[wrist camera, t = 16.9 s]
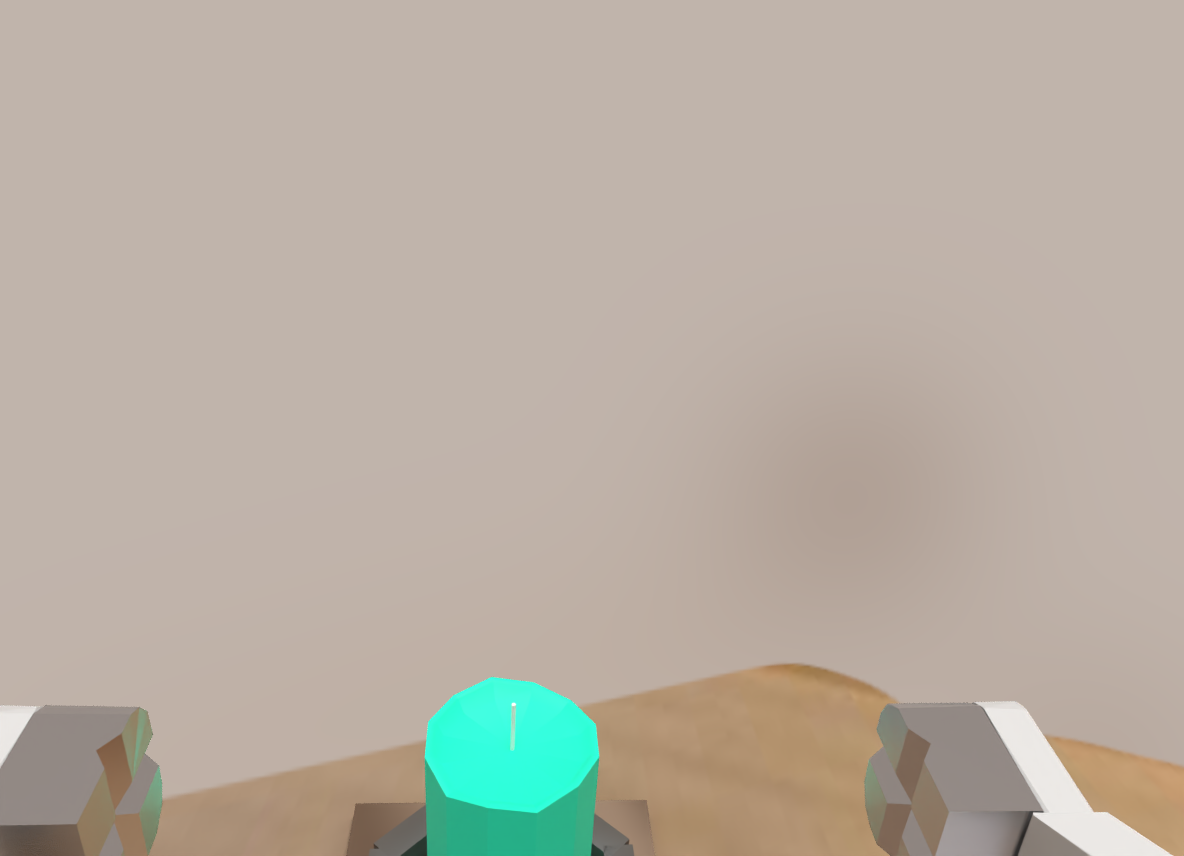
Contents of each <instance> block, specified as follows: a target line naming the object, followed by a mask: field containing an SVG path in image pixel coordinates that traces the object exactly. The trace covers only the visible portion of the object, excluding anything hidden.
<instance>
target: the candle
mask: <svg viewBox="0 0 1184 856" xmlns="http://www.w3.org/2000/svg"><path fill="white" fill-rule="evenodd" d="M598 765H599V751H598V742H597V732H596V724H595V723H594V722H593V721H592V720H591V719H590V718H589V717H588V716H587V715H586V714H585V713H584V712H583V711H582V710H581V709H580V708H579V707H577V706H576V705H575V704H574V703H573V702H572V701H571V700H569V699H567V698H565V697H563V696H561V695H559V694H557V693H555V692H553V691H551V690H548V689H546V688H544V687H542V686H540V685H538V684H536V683H533V682H526V681H518V680H510V679H502V678H494V677H491V678H489V679H487V680H485V681H482V682H480V683H479V684H476V685H474V686H472V687H470V688H468V689H466V690H464V691H462V692H460V693H458V694H456V695H453V697H452V698H450V700H449V701H448V702H447V703H446V704H445V705H444V706H443V707H442V708H441V709H440V710H439V711H438V712H437V713H436V714H435V715H434V716H433V717H432V718H431V719H430V720H429V722H428V730H427V740H426V751H425V785H426V825H427V856H591V848H592V836H593V824H594V812H595V800H596V788H597V777H598Z"/></svg>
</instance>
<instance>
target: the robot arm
mask: <svg viewBox="0 0 1184 856" xmlns="http://www.w3.org/2000/svg"><path fill="white" fill-rule="evenodd" d="M877 732H878V734H879V737H880V739H881V741H882V743H883V747H882V748H881V749H880V750H879V751H878V752H877V753H875V754H874V755H873V756H872V757H871V758H870V759H869V763H868V767H867V772H866V777H865V806H866V811H867V815H868V820H869V824H870V827H871V830H872V833H873V835H874V838H875V841H876V843H877V845H878V846H880V847H881V848H882V849H883V850H884V851H886V852H887V853H888V854H889V855H890V856H1172V855H1171V854H1169V853H1168V852H1166V851H1165V850H1163V849H1162V848H1160V847H1159V846H1157V845H1156V844H1154V843H1153V842H1151V841H1150V840H1148V839H1147V838H1145V837H1144V836H1142V835H1141V834H1139V833H1138V832H1136V831H1135V830H1133V829H1132V828H1130V827H1129V826H1127V825H1126V824H1124V823H1123V822H1121V821H1120V820H1118V819H1116V818H1115V817H1113V816H1112V815H1110V814H1109V813H1107V812H1094V811H1093V810H1092V808H1091V807H1090V805H1089V804H1088V802H1087V801H1086V799H1085V798H1084V796H1083V795H1082V793H1081V792H1080V790H1079V789H1078V787H1077V786H1076V784H1075V783H1074V781H1073V779H1072V778H1071V776H1070V775H1069V773H1068V772H1067V770H1066V769H1065V767H1064V766H1063V764H1062V763H1061V761H1060V760H1059V758H1058V757H1057V755H1056V754H1055V752H1054V751H1053V749H1052V748H1051V746H1050V745H1049V743H1048V742H1047V740H1046V739H1045V737H1044V735H1043V734H1042V733H1041V731H1040V729H1039V728H1038V727H1037V725H1036V723H1035V722H1034V720H1033V719H1032V717H1031V716H1030V714H1029V713H1028V711H1027V710H1026V708H1025V707H1023V706H1022V705H1020V704H1019V703H1018V702H1016V701H1011V702H1010V701H1008V702H1007V701H1005V702H973V703H909V704H908V703H903V704H887V705H886V707H885V708H884V710H883V711H882V712H881V715H880V719H879V723H878V726H877ZM152 735H153V733H152V729H151V725H150V720H149V716H148V712H147V711H146V710H144V709H142V708H140V707H101V706H50V705H45V706H44V707H37V706H1V705H0V856H148V855H149V852H150V850H151V847H152V844H153V842H154V839H155V836H156V833H157V829H158V824H159V818H160V813H161V807H162V780H161V775H160V770H159V765H157V763H155V762H154V761H153V760H152V759H151V758H150V757H148V756H147V755H146V754H145V751H146V749H147V747H148V745H149V742H150V740H151V738H152Z"/></svg>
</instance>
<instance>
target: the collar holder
mask: <svg viewBox="0 0 1184 856" xmlns="http://www.w3.org/2000/svg"><path fill="white" fill-rule="evenodd" d="M346 856H427V825H426V803H371V804H356V806H355V811H354V817H353V822H352V828H351V833H350V839H349V844H348V850H347V855H346ZM591 856H655V854H654V847H653V840H652V834H651V827H650V820H649V814H648V807H647V800H609V801H595V812H594V824H593V836H592V848H591Z"/></svg>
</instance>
